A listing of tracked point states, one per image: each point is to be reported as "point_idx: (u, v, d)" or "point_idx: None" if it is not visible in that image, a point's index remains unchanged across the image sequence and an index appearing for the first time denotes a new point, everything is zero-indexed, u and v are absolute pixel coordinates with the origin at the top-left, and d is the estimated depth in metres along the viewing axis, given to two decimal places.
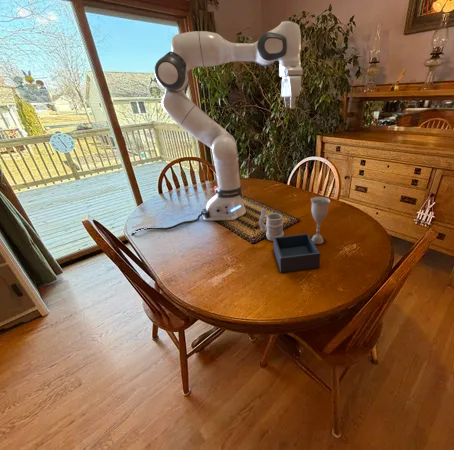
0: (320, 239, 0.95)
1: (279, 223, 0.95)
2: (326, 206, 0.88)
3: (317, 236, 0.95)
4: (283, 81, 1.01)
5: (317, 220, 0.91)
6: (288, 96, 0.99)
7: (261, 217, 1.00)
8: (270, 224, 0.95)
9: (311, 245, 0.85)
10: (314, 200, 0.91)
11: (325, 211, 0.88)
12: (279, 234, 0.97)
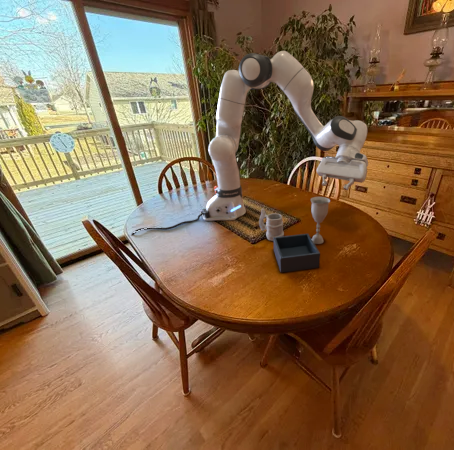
0: (320, 239, 0.95)
1: (279, 223, 0.95)
2: (326, 206, 0.88)
3: (317, 236, 0.95)
4: (339, 161, 0.96)
5: (317, 220, 0.91)
6: (348, 176, 0.93)
7: (261, 217, 1.00)
8: (270, 224, 0.95)
9: (311, 245, 0.85)
10: (314, 200, 0.91)
11: (325, 211, 0.88)
12: (279, 234, 0.97)
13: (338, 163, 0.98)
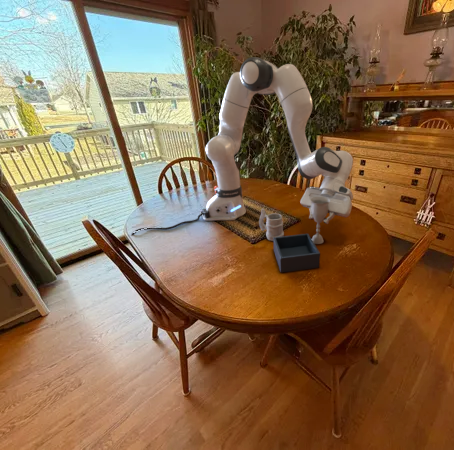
0: (320, 239, 0.95)
1: (279, 223, 0.95)
2: (326, 206, 0.88)
3: (317, 236, 0.95)
4: (323, 194, 0.92)
5: (317, 220, 0.91)
6: (332, 211, 0.89)
7: (261, 217, 1.00)
8: (270, 224, 0.95)
9: (311, 245, 0.85)
10: (314, 200, 0.91)
11: (325, 211, 0.88)
12: (279, 234, 0.97)
13: (322, 195, 0.93)
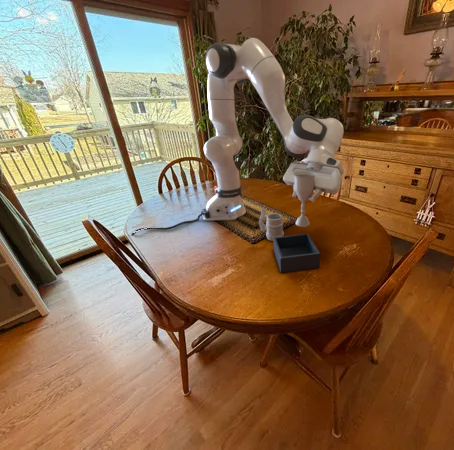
0: (305, 221, 0.82)
1: (279, 223, 0.95)
2: (311, 180, 0.74)
3: (302, 218, 0.82)
4: (309, 167, 0.79)
5: (301, 198, 0.78)
6: (318, 187, 0.76)
7: (261, 217, 1.00)
8: (270, 224, 0.95)
9: (311, 245, 0.85)
10: (298, 174, 0.78)
11: (310, 187, 0.75)
12: (279, 234, 0.97)
13: (308, 170, 0.80)
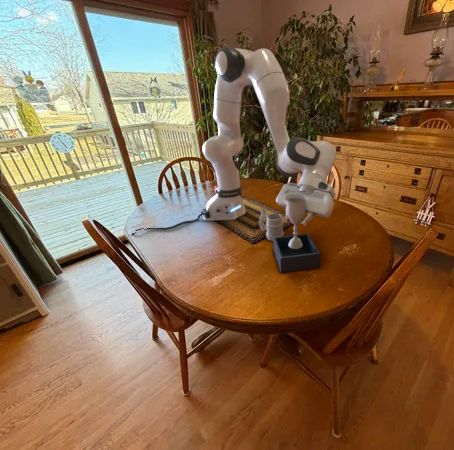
0: (298, 243, 0.82)
1: (279, 223, 0.95)
2: (303, 205, 0.75)
3: (295, 240, 0.82)
4: (301, 190, 0.80)
5: (293, 221, 0.78)
6: (310, 210, 0.76)
7: (261, 217, 1.00)
8: (270, 224, 0.95)
9: (311, 245, 0.85)
10: (290, 198, 0.79)
11: (302, 211, 0.75)
12: (279, 234, 0.97)
13: (300, 193, 0.81)
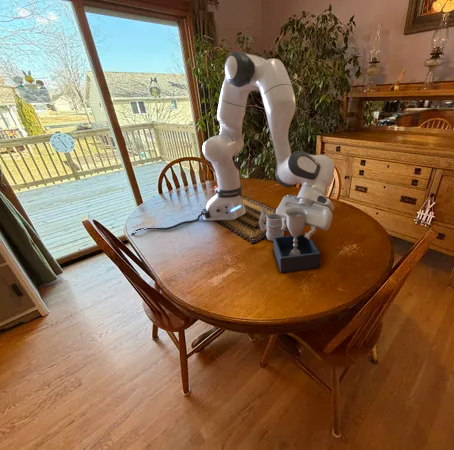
0: None
1: (279, 223, 0.95)
2: (302, 219, 0.77)
3: (294, 251, 0.85)
4: (301, 203, 0.82)
5: (293, 234, 0.81)
6: (309, 223, 0.79)
7: (261, 217, 1.00)
8: (270, 224, 0.95)
9: (311, 245, 0.85)
10: (290, 211, 0.81)
11: (301, 225, 0.78)
12: (279, 234, 0.97)
13: (299, 205, 0.83)
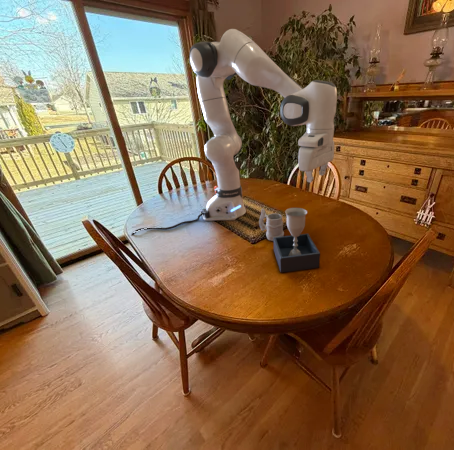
0: None
1: (279, 223, 0.95)
2: (302, 219, 0.77)
3: (294, 251, 0.85)
4: None
5: (293, 234, 0.81)
6: None
7: (261, 217, 1.00)
8: (270, 224, 0.95)
9: (311, 245, 0.85)
10: (290, 211, 0.81)
11: (301, 225, 0.78)
12: (279, 234, 0.97)
13: None
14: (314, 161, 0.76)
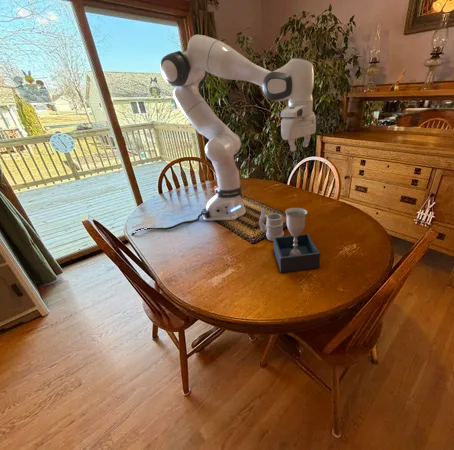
0: None
1: (279, 223, 0.95)
2: (302, 219, 0.77)
3: (294, 251, 0.85)
4: None
5: (293, 234, 0.81)
6: None
7: (261, 217, 1.00)
8: (270, 224, 0.95)
9: (311, 245, 0.85)
10: (290, 211, 0.81)
11: (301, 225, 0.78)
12: (279, 234, 0.97)
13: None
14: (295, 130, 0.86)
